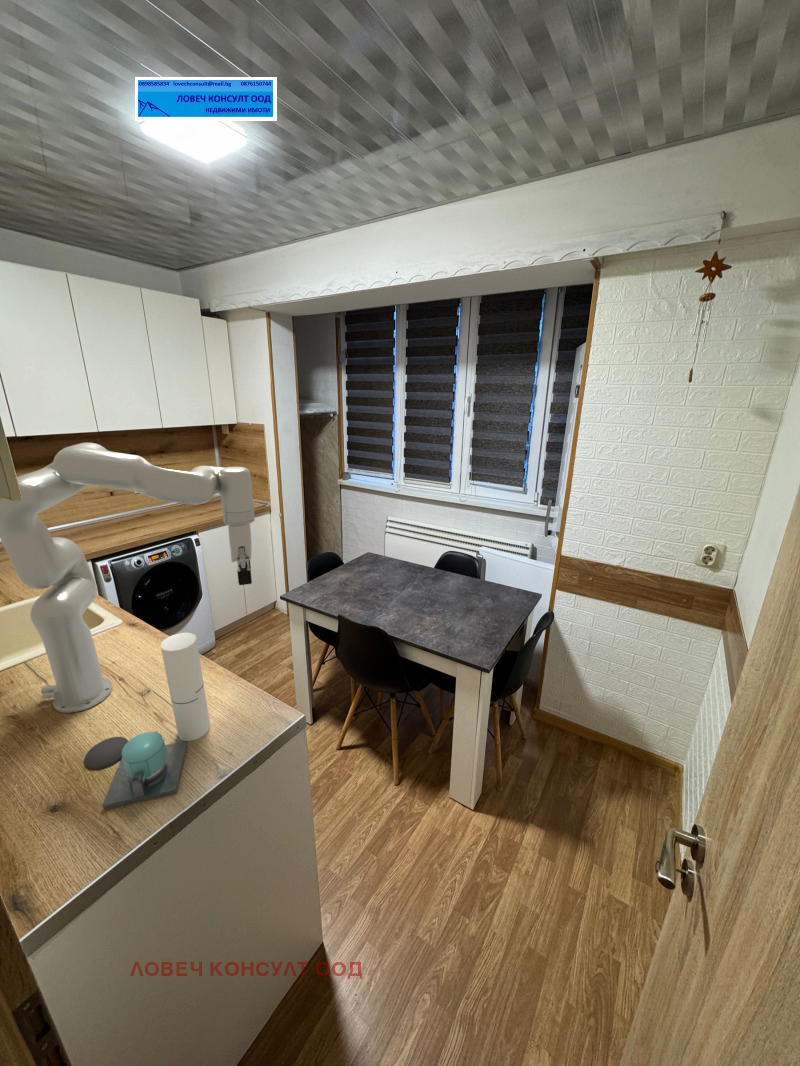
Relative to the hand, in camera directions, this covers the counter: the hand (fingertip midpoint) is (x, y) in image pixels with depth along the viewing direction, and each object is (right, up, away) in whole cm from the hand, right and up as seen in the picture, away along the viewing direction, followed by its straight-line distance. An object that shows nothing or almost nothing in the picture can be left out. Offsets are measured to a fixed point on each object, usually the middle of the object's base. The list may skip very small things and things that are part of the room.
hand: (245, 576), depth 112 cm
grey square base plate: (-12, -40, -23) cm, 48 cm away
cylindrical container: (-8, -36, -11) cm, 39 cm away
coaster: (-25, -38, -18) cm, 49 cm away
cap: (-12, -37, -24) cm, 46 cm away
